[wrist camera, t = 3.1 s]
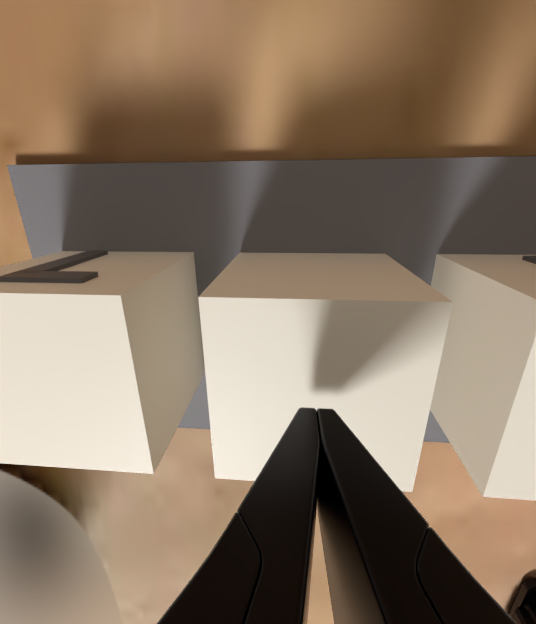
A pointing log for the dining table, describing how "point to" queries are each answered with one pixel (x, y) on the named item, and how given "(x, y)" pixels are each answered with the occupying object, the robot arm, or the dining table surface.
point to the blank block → (320, 354)
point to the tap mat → (283, 214)
